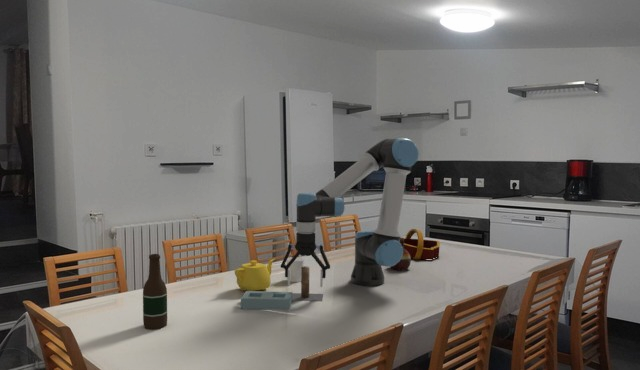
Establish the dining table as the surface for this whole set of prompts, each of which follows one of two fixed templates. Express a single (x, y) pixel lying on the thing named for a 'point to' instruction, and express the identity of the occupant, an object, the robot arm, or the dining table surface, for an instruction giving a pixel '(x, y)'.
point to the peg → (305, 282)
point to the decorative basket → (421, 246)
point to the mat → (311, 298)
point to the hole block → (266, 300)
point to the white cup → (295, 269)
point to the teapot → (254, 276)
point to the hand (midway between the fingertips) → (305, 285)
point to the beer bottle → (154, 297)
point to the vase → (403, 259)
